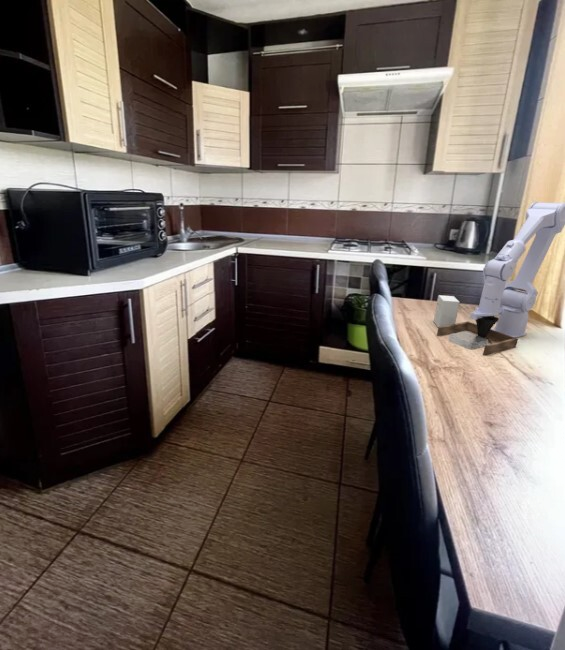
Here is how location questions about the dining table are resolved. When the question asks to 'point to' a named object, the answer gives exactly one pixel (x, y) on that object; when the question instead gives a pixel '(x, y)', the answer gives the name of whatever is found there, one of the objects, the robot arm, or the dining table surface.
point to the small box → (446, 310)
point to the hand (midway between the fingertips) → (481, 336)
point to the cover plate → (468, 340)
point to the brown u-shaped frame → (502, 339)
